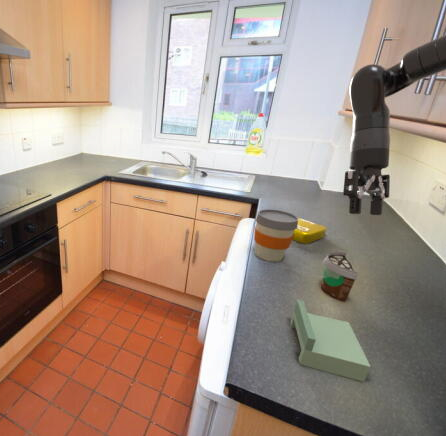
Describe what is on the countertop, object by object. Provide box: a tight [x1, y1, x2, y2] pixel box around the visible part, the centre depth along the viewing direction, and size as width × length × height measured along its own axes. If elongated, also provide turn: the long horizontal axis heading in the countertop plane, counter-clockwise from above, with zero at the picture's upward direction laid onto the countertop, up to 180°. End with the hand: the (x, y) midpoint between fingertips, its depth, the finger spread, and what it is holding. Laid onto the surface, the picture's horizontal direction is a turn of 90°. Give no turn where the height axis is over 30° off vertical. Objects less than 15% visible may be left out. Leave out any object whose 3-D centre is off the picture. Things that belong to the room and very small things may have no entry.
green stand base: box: [289, 299, 372, 383], centre depth 63 cm, size 11×13×7 cm
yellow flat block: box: [292, 217, 327, 245], centre depth 121 cm, size 15×15×5 cm
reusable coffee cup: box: [253, 208, 299, 263], centre depth 101 cm, size 13×13×15 cm
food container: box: [320, 251, 359, 303], centre depth 83 cm, size 12×6×10 cm, turn 157°
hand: (365, 214), depth 74 cm, fingers open, 8 cm apart
